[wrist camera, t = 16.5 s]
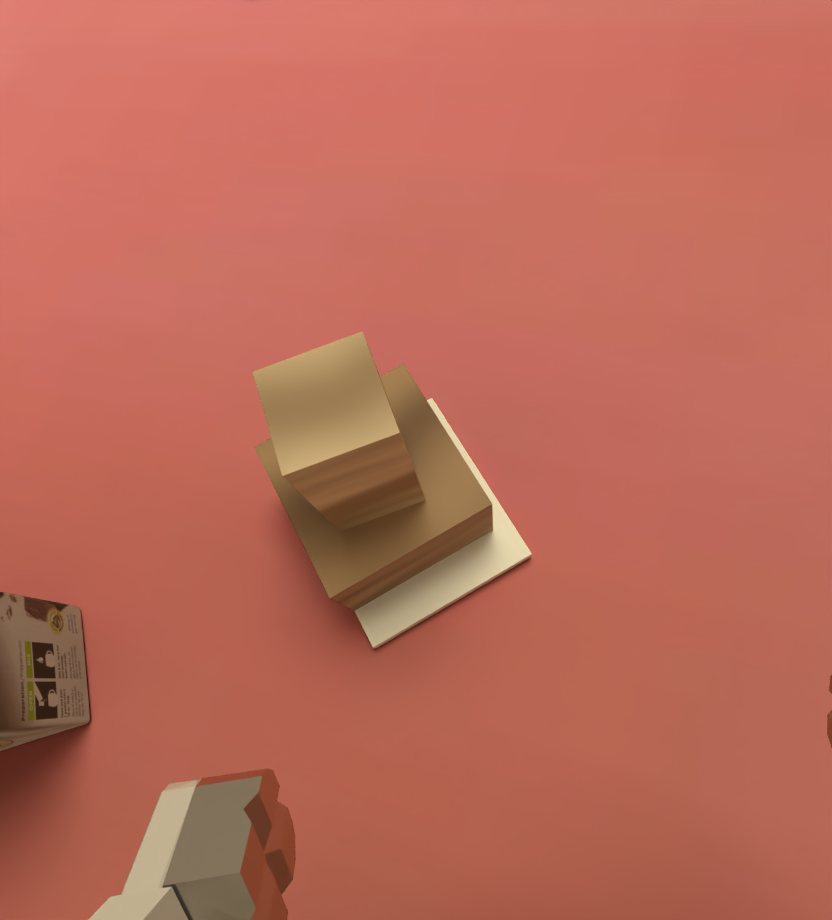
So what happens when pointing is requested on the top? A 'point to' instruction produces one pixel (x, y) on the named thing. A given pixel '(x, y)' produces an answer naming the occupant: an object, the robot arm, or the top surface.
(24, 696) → the coffee box
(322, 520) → the walnut brick
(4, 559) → the top surface
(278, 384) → the oak block
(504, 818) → the top surface
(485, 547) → the baseplate
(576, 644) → the top surface
